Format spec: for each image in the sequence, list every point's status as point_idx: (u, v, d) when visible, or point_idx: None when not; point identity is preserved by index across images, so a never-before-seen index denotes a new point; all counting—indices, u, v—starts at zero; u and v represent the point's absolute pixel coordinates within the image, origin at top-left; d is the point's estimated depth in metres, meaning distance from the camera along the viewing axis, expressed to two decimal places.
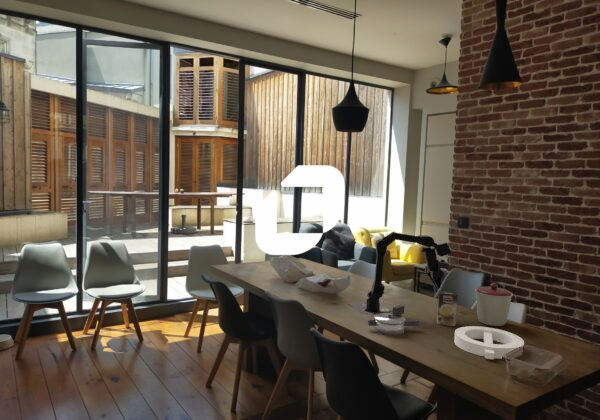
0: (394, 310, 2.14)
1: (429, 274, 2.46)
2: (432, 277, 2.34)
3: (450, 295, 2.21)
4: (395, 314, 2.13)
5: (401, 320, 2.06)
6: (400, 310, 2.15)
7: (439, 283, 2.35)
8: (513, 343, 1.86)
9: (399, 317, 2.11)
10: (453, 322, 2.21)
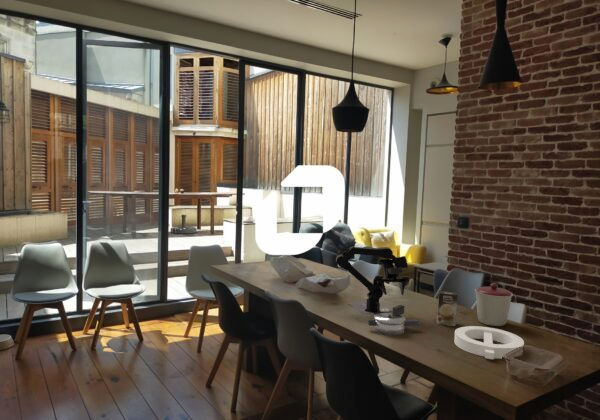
0: (394, 310, 2.14)
1: (400, 286, 2.35)
2: (378, 285, 2.35)
3: (450, 295, 2.21)
4: (395, 314, 2.13)
5: (401, 320, 2.06)
6: (400, 310, 2.15)
7: (383, 289, 2.30)
8: (513, 343, 1.86)
9: (399, 317, 2.11)
10: (453, 322, 2.21)
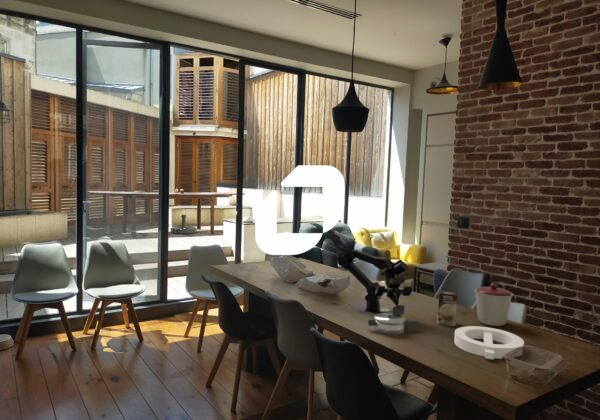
0: (394, 310, 2.14)
1: (394, 297, 2.29)
2: None
3: (450, 295, 2.21)
4: (395, 314, 2.13)
5: (401, 320, 2.06)
6: (400, 310, 2.15)
7: (394, 300, 2.25)
8: (513, 343, 1.86)
9: (399, 317, 2.11)
10: (453, 322, 2.21)
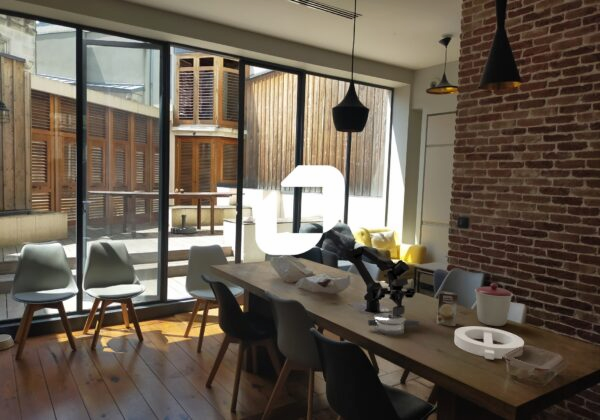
0: (394, 310, 2.14)
1: None
2: None
3: (450, 295, 2.21)
4: (395, 314, 2.13)
5: (401, 320, 2.06)
6: (400, 310, 2.15)
7: (397, 302, 2.21)
8: (513, 343, 1.86)
9: (399, 317, 2.11)
10: (453, 322, 2.21)
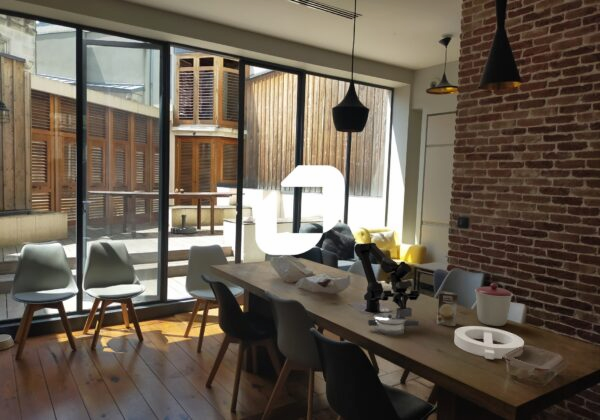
0: (397, 311, 2.12)
1: (402, 301, 2.20)
2: None
3: (450, 295, 2.21)
4: (398, 315, 2.11)
5: (397, 321, 2.05)
6: (405, 312, 2.12)
7: (400, 305, 2.16)
8: (513, 343, 1.86)
9: (400, 319, 2.08)
10: (453, 322, 2.21)
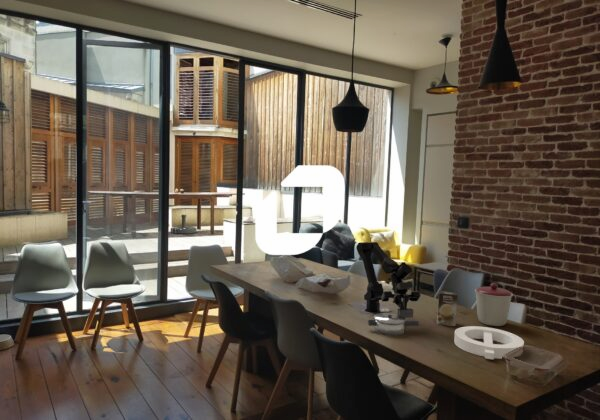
0: (398, 311, 2.11)
1: (402, 302, 2.19)
2: None
3: (450, 295, 2.21)
4: (398, 316, 2.11)
5: (395, 321, 2.04)
6: (406, 313, 2.11)
7: (400, 306, 2.15)
8: (513, 343, 1.86)
9: (399, 319, 2.08)
10: (453, 322, 2.21)
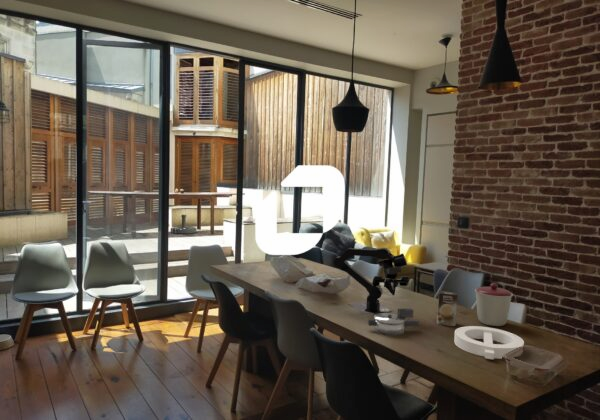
0: (398, 311, 2.11)
1: (392, 286, 2.33)
2: None
3: (450, 295, 2.21)
4: (398, 316, 2.11)
5: (395, 321, 2.04)
6: (406, 313, 2.11)
7: (390, 290, 2.29)
8: (513, 343, 1.86)
9: (399, 319, 2.08)
10: (453, 322, 2.21)
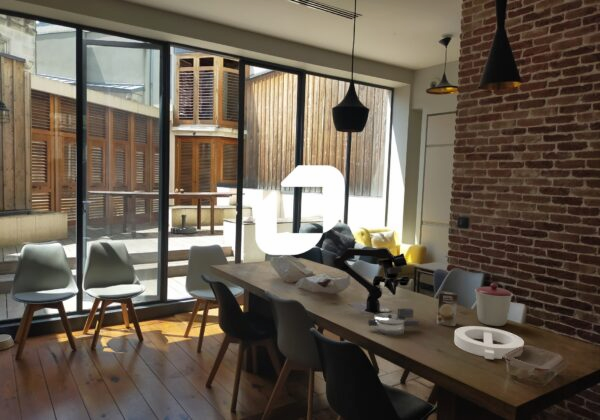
0: (398, 311, 2.11)
1: None
2: None
3: (450, 295, 2.21)
4: (398, 316, 2.11)
5: (395, 321, 2.04)
6: (406, 313, 2.11)
7: (391, 289, 2.29)
8: (513, 343, 1.86)
9: (399, 319, 2.08)
10: (453, 322, 2.21)
